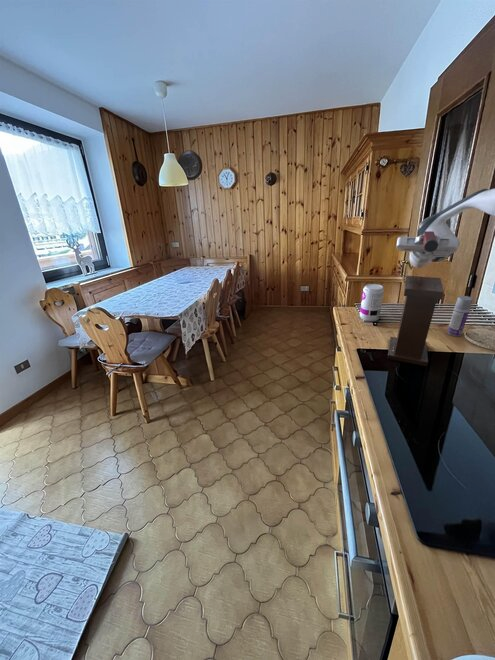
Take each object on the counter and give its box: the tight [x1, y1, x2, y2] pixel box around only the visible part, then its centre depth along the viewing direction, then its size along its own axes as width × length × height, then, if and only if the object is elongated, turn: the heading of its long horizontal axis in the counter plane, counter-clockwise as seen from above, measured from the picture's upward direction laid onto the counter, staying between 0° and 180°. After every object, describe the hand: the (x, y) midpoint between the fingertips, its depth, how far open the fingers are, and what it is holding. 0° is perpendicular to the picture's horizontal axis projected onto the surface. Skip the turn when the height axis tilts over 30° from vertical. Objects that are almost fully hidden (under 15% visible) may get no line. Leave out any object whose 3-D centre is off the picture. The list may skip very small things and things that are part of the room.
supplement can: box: [359, 283, 385, 322], centre depth 124 cm, size 8×8×15 cm
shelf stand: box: [386, 275, 445, 367], centre depth 96 cm, size 14×12×26 cm
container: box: [446, 295, 474, 337], centre depth 108 cm, size 5×5×15 cm
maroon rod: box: [423, 231, 438, 252], centre depth 97 cm, size 22×4×4 cm, turn 152°
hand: (429, 237), depth 101 cm, fingers closed on maroon rod, 3 cm apart
